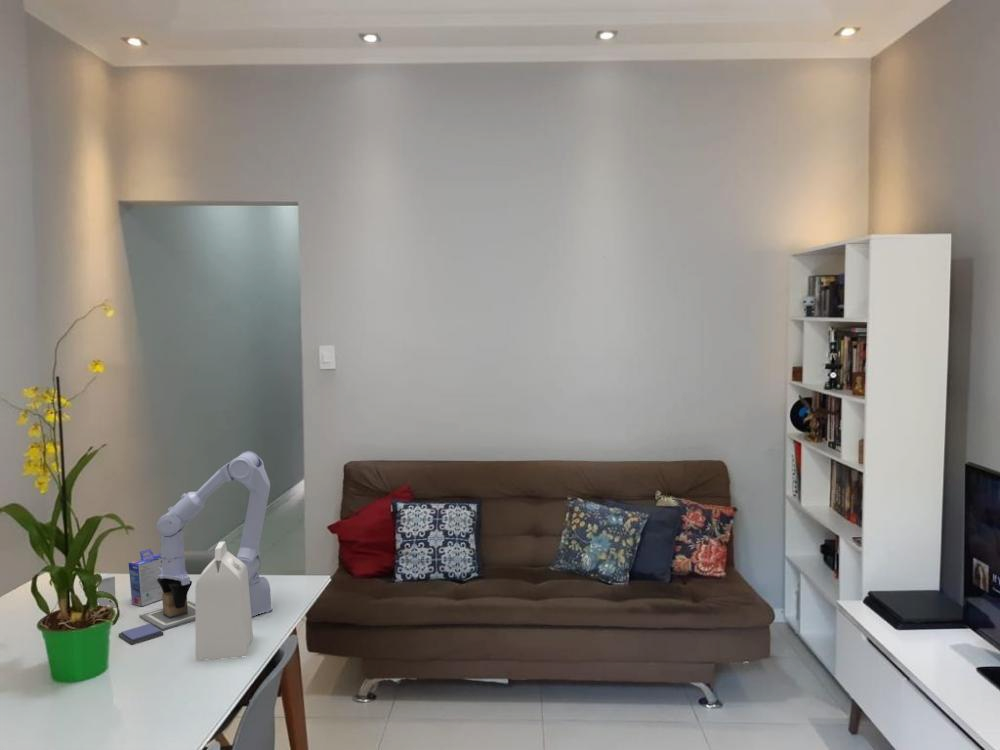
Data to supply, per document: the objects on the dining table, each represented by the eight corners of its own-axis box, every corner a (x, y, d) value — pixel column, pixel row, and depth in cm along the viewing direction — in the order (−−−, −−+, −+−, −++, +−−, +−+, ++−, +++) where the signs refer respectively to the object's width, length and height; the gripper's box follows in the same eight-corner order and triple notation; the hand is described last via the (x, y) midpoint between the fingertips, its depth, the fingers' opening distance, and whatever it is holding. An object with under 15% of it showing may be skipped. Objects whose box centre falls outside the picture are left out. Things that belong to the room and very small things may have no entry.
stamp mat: (189, 603, 226) (189, 600, 226) (212, 615, 216) (212, 612, 216) (139, 617, 215) (139, 614, 215) (162, 630, 206) (161, 628, 206)
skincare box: (92, 625, 211) (89, 580, 210) (90, 619, 215) (87, 576, 214) (117, 619, 214) (115, 576, 213) (115, 614, 218) (112, 571, 217)
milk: (205, 640, 199) (200, 539, 197) (253, 636, 201) (248, 536, 199) (195, 661, 188) (189, 553, 185) (245, 656, 189) (241, 550, 187)
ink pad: (149, 627, 209) (149, 622, 209) (163, 635, 203) (163, 630, 203) (118, 636, 203) (118, 632, 203) (131, 645, 197) (131, 640, 197)
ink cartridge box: (160, 593, 234) (158, 545, 233) (172, 596, 231) (169, 547, 230) (129, 603, 226) (127, 554, 225) (141, 607, 223) (138, 557, 222)
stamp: (181, 609, 219) (180, 588, 218) (187, 613, 216) (186, 592, 216) (163, 615, 215) (162, 593, 215) (169, 618, 213) (168, 597, 212)
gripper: (146, 554, 216) (149, 602, 218) (170, 565, 207) (173, 615, 208) (172, 548, 222) (174, 595, 223) (196, 558, 212) (198, 608, 213)
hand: (175, 604), depth 216 cm, fingers open, 5 cm apart
